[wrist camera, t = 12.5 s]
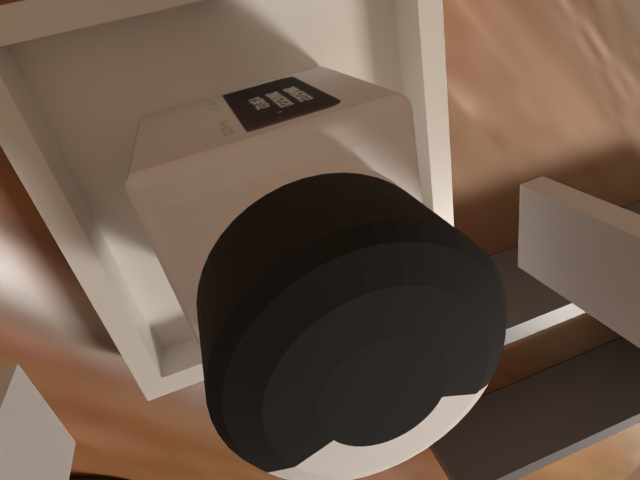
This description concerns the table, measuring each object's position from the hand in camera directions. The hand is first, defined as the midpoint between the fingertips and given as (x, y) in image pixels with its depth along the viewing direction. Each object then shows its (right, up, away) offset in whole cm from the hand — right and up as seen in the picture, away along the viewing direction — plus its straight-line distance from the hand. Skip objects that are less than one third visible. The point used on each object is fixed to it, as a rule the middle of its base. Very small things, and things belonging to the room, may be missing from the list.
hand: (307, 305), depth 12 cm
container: (-2, +5, +8) cm, 10 cm away
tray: (-2, +5, +8) cm, 10 cm away
